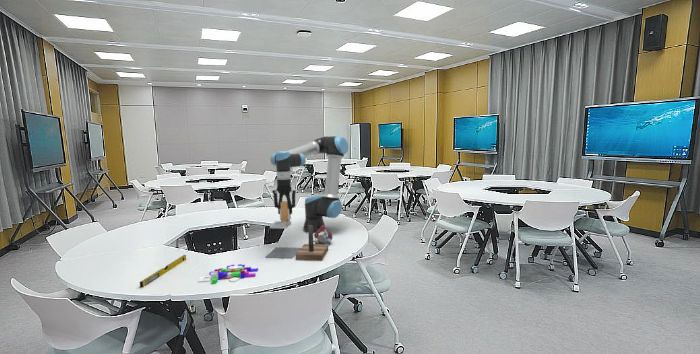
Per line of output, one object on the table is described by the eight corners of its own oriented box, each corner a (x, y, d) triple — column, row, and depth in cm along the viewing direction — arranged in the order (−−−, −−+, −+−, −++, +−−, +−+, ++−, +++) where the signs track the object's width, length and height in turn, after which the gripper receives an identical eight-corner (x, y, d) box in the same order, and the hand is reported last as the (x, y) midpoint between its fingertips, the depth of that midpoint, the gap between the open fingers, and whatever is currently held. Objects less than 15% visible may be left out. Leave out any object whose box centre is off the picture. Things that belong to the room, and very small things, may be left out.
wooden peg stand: (304, 249, 194) (303, 220, 192) (328, 249, 192) (327, 220, 190) (295, 260, 177) (294, 228, 175) (321, 260, 175) (320, 228, 173)
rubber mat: (275, 247, 197) (275, 247, 197) (300, 248, 195) (300, 247, 195) (265, 257, 182) (265, 256, 181) (292, 258, 179) (292, 257, 179)
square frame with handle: (278, 221, 194) (278, 201, 193) (294, 221, 193) (293, 201, 192) (269, 228, 180) (268, 206, 179) (286, 228, 179) (285, 206, 178)
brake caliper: (335, 236, 208) (331, 224, 200) (332, 251, 201) (327, 240, 193) (318, 235, 211) (313, 223, 203) (313, 250, 203) (309, 239, 195)
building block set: (260, 265, 173) (259, 256, 172) (253, 282, 153) (253, 272, 152) (209, 268, 170) (208, 259, 169) (195, 286, 149) (195, 276, 149)
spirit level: (183, 260, 181) (183, 254, 181) (186, 260, 181) (185, 254, 181) (140, 288, 148) (139, 281, 148) (143, 288, 148) (142, 281, 148)
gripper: (266, 179, 187) (268, 221, 189) (296, 179, 184) (298, 221, 187) (271, 178, 194) (273, 217, 197) (300, 177, 192) (301, 218, 194)
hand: (285, 219), depth 192 cm, fingers closed on square frame with handle, 4 cm apart
